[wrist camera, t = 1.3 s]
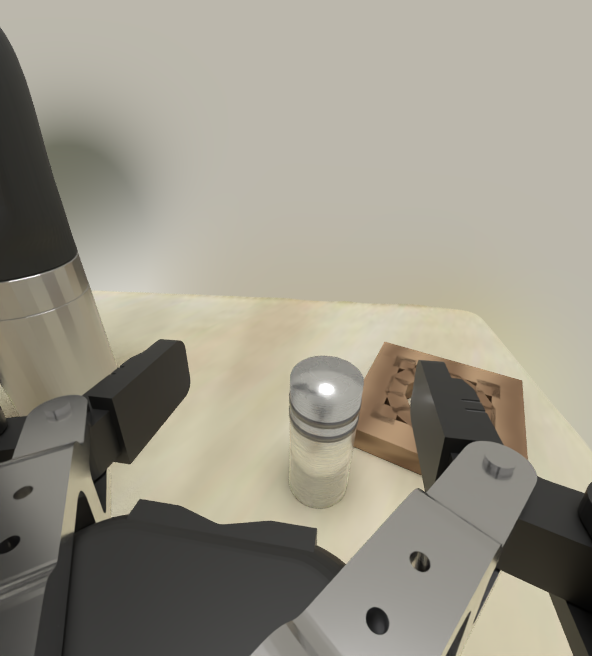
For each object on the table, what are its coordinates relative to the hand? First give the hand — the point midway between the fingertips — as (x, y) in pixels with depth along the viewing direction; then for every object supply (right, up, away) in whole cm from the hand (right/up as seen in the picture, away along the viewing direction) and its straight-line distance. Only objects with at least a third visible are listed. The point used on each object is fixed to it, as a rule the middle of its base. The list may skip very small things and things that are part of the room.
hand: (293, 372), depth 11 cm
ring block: (+15, -8, +25) cm, 31 cm away
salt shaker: (+2, -12, +19) cm, 22 cm away
